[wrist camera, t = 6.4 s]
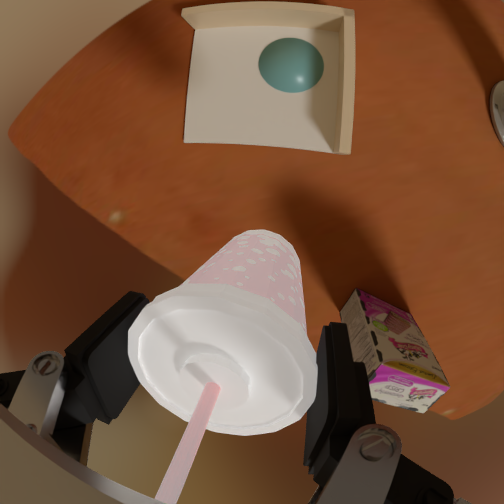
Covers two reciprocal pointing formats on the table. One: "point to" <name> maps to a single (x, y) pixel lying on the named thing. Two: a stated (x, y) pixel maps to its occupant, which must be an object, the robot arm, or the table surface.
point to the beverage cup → (228, 348)
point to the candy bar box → (393, 353)
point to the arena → (272, 75)
